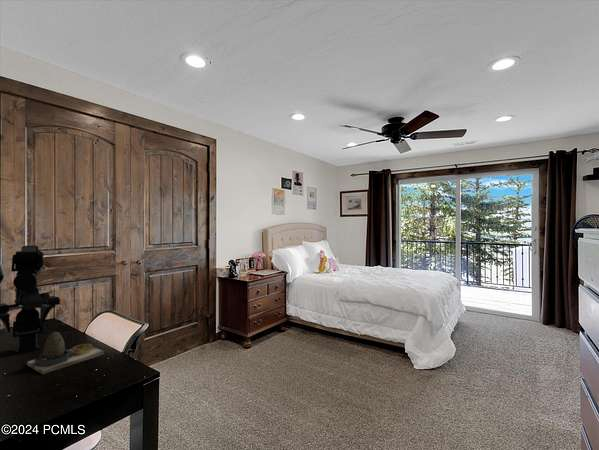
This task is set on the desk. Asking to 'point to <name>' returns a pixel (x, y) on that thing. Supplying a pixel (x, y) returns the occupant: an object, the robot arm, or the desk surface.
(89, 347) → the narrow collar
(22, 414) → the desk surface
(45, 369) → the fitting board
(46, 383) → the desk surface
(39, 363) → the collar
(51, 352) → the decorative egg
